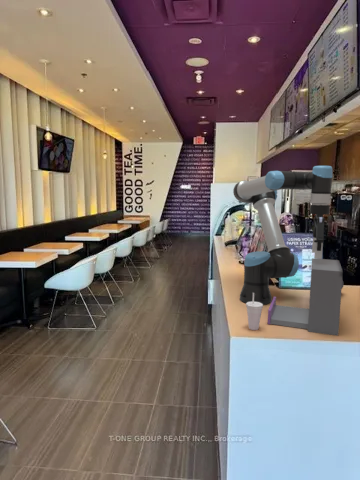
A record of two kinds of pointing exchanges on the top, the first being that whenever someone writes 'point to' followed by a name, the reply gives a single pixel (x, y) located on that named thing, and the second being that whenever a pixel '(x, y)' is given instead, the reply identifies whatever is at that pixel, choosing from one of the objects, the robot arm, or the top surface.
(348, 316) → the top surface
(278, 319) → the sealer tray
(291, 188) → the robot arm
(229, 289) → the top surface
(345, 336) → the top surface
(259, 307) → the smoothie
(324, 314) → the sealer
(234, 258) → the top surface
